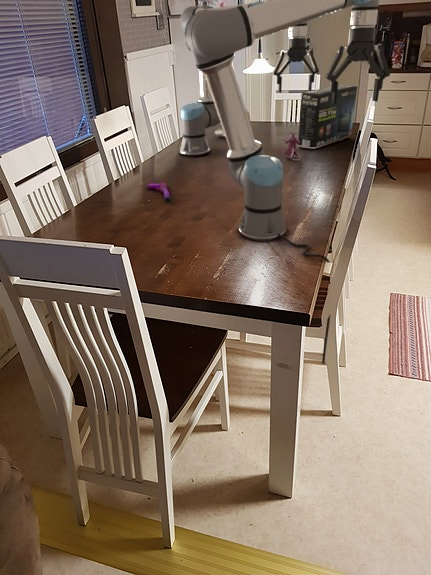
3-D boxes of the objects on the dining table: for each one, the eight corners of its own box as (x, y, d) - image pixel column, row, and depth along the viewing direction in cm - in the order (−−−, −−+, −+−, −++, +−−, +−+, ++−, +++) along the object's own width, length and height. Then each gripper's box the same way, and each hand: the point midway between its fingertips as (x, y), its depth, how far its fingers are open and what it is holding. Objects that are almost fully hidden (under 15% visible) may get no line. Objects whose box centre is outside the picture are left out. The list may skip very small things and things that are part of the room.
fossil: (237, 133, 254) (219, 116, 257) (227, 149, 260) (209, 132, 263) (253, 132, 267) (235, 116, 271) (243, 148, 274) (226, 131, 277)
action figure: (297, 155, 226) (298, 129, 219) (301, 160, 218) (302, 134, 212) (280, 156, 226) (281, 130, 219) (283, 161, 218) (285, 135, 211)
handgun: (147, 187, 192) (147, 183, 191) (166, 185, 193) (165, 180, 192) (151, 204, 175) (150, 199, 174) (171, 201, 176) (170, 197, 175)
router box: (314, 151, 231) (318, 94, 217) (296, 148, 237) (299, 92, 224) (352, 138, 251) (358, 85, 238) (335, 135, 258) (340, 83, 245)
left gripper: (323, 35, 199) (319, 88, 210) (267, 38, 197) (265, 91, 208) (328, 36, 192) (324, 91, 203) (270, 39, 191) (268, 93, 202)
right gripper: (398, 24, 142) (387, 98, 153) (318, 28, 141) (313, 101, 152) (408, 25, 135) (396, 101, 146) (325, 29, 134) (319, 105, 145)
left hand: (294, 91), depth 206 cm, fingers open, 13 cm apart
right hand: (354, 102), depth 149 cm, fingers open, 13 cm apart
